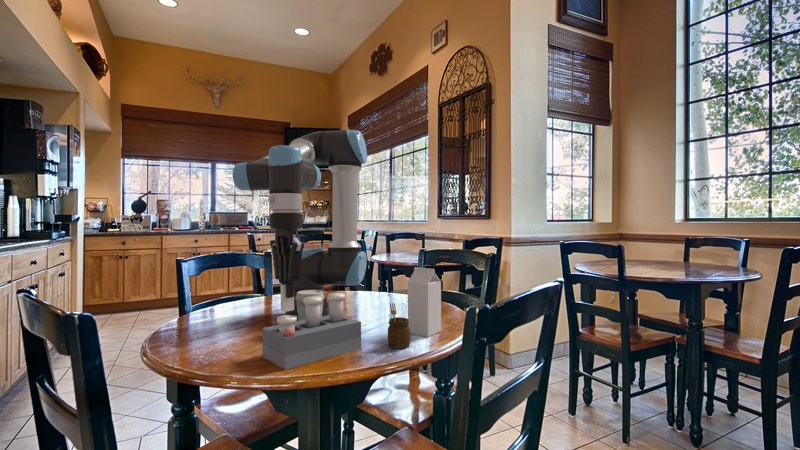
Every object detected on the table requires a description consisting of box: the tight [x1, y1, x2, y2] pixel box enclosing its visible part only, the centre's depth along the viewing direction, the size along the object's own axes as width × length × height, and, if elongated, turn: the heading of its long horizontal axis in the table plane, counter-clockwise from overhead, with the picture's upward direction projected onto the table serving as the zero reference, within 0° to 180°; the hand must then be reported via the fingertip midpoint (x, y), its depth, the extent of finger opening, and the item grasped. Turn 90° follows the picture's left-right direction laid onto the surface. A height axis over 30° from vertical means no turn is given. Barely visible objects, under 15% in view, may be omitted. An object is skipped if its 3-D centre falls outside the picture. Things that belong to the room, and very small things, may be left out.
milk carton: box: [407, 266, 442, 338], centre depth 118 cm, size 7×7×19 cm
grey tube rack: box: [261, 314, 362, 371], centre depth 100 cm, size 12×21×8 cm, turn 133°
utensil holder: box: [387, 302, 411, 350], centre depth 105 cm, size 6×6×12 cm
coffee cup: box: [295, 290, 325, 321], centre depth 119 cm, size 8×8×12 cm
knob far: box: [326, 292, 346, 323], centre depth 105 cm, size 5×5×7 cm
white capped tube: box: [276, 315, 298, 334], centre depth 96 cm, size 5×5×7 cm
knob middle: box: [303, 296, 322, 328], centre depth 100 cm, size 5×5×7 cm
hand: (287, 310), depth 96 cm, fingers closed
